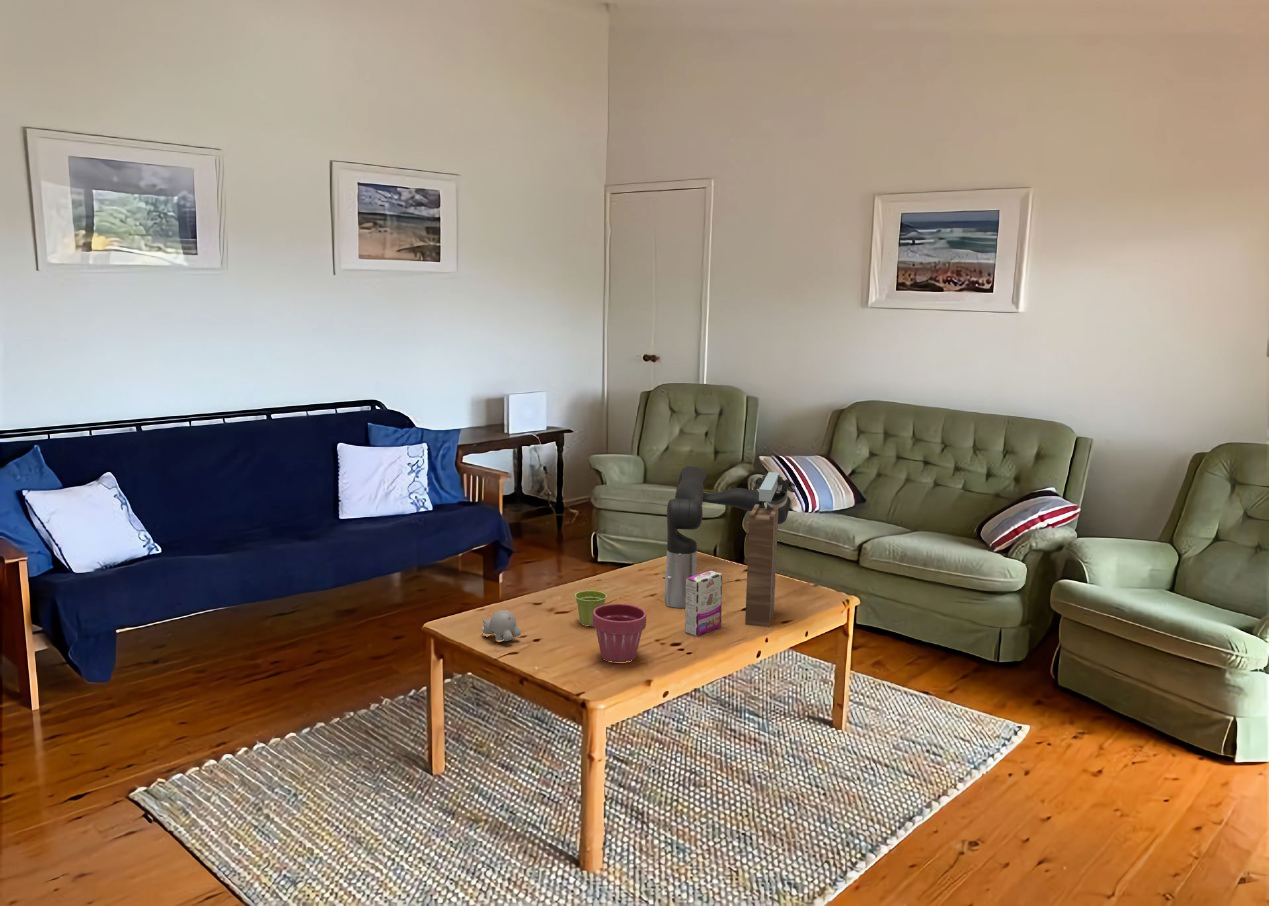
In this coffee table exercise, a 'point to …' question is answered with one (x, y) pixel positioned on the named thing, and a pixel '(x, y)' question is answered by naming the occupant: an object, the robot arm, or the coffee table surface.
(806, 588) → the coffee table surface
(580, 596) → the plant pot
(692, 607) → the candy bar box
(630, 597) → the coffee table surface
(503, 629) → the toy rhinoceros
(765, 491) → the rail
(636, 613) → the plant pot
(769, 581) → the post
